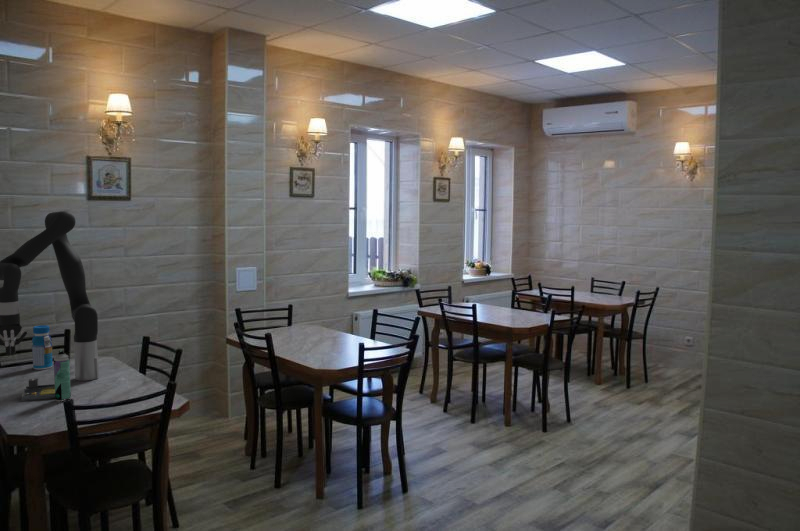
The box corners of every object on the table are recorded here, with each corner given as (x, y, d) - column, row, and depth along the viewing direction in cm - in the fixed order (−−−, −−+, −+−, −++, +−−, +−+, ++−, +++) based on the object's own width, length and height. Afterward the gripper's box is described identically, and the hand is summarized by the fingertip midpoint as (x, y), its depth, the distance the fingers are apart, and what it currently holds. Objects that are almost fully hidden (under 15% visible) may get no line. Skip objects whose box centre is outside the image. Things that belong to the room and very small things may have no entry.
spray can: (67, 396, 258) (65, 348, 256) (73, 399, 254) (71, 350, 253) (53, 400, 254) (50, 350, 252) (58, 402, 250) (56, 352, 248)
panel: (67, 389, 267) (67, 382, 267) (64, 397, 257) (63, 390, 257) (26, 393, 262) (26, 386, 262) (21, 401, 251) (21, 394, 251)
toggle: (38, 388, 262) (37, 378, 262) (37, 389, 260) (36, 379, 259) (30, 388, 261) (29, 378, 261) (28, 390, 259) (28, 380, 258)
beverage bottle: (32, 370, 297) (30, 328, 295) (33, 366, 304) (31, 325, 303) (52, 368, 301) (51, 327, 299) (53, 364, 308) (51, 324, 307)
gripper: (29, 310, 261) (31, 351, 262) (-9, 312, 256) (-7, 354, 257) (26, 313, 254) (28, 356, 255) (-13, 315, 249) (-11, 358, 250)
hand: (10, 355), depth 256 cm, fingers closed
